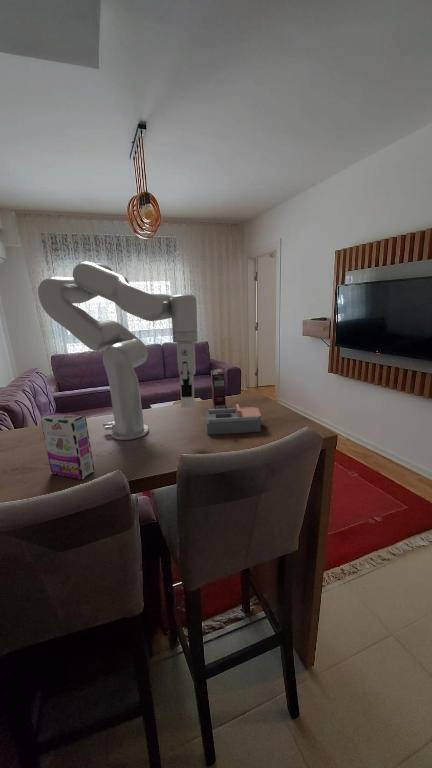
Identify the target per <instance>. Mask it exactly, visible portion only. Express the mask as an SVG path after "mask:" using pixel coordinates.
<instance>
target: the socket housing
mask: <svg viewBox="0 0 432 768" xmlns="http://www.w3.org/2000/svg"><path fill="white" fill-rule="evenodd" d="M244 408H245V407H240V409H244ZM246 408H256V407H255V406H250V407H249V406H248V407H246ZM261 425H262V424H261V418H260V419H259V416H252V417H237V414H236V407H232V408H230V407H228V408H226V409H214V408H212V409H211V408H210V409H207V412H206V431H207V435H224V434H225V435H228V434H243V433H245V434H246V433H259V432H261V431H262V430H261V429H262V427H261Z"/></svg>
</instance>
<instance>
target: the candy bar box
mask: <svg viewBox="0 0 432 768" xmlns="http://www.w3.org/2000/svg"><path fill="white" fill-rule="evenodd" d="M40 423H41V427H42V428H41V429H42V432H43V438H44V442H45V448H46V453H47V457H48V463H49V468H50V472H52V473H56V474H60V475H64V476H63V477H65V476H69V477H68V478H70V477H75V478H80V479H83V478H84V479H86V478H88V475H89V474H90V475H91V473H92V472H93V473H94V472H95V465H94V459H93V453H92V448H91V447H92V446H91V442H90V435H89V430H88V429H89V428H88V423H87V415H80V414H72V413H70V414H69V413H62V412H61V413H60V412H53V413H51V414H48V415H46V416H43V417H41V418H40ZM93 473H92V474H93ZM60 475H59V476H60ZM90 475H89V476H90ZM85 477H86V478H85ZM75 478H74V479H75ZM80 479H79V480H80ZM84 479H83V480H84Z"/></svg>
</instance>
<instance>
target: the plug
mask: <svg viewBox="0 0 432 768" xmlns="http://www.w3.org/2000/svg"><path fill="white" fill-rule="evenodd" d="M187 367H188V365H187ZM187 375H189V373H187ZM188 378H189V377H188ZM194 380H195V379H194V375H193V374H191V384H192V397H182V390H181V384H182V376H181V375H179V385H180V386H179V388H180V389H179V391H180V408H195V385H194V383H195V382H194Z"/></svg>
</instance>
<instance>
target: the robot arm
mask: <svg viewBox="0 0 432 768" xmlns="http://www.w3.org/2000/svg"><path fill="white" fill-rule="evenodd" d="M37 295H38V300H39V304H40V305H41V307H42V309H43V311H44V312H45V313H46V314H47V315H48V316H49V317H50V318H51V319H52V320H53V321H55V322H56V323H58V324H59V325H60V326H62V327H63V328H64V329H65V330H67V331H68V332H69V333H70V334H71V335H72V336H73V337H74V338H76V339H77V340H79V341H80V342H81V343H82V344H83V345H84V346H85V347H87V348H89V349H90V350H92V351H93V352H99V351H104V352H103V355H102V362H103V367H104V369H105V372H106V375H107V379H108V384H109V385H108V386H109V391H110V392H109V393H110V397H111V405H112V411H113V421H112V422H110V421H109V422H103V424H102V427H103V429H104V430H105V431H109V430H110V431H111V438H113V439H114V440H118V441H132V440H135V439H136V440H137V439H139V438H141V437H143V436H145V435H147V434H148V433H149V426H148V425H147V424H145V423H144V417H143V407H142V398H141V391H140V389H141V388H140V382H139V378H138V375H137V373H136V371H135V369H134V368H137V367H139V366H141V365H143V364H144V363H145V362H147V359H148V355H149V352H148V348H147V346H146V345H145V343H144V342H143V341H142V340H141V339H139V337H137V336H136V335H135V334H134V333H133V332H132V331H130V330H129V329H128V328H126V327H125V325H124V326H123V324H121V323H119V322H117V321H115V320H112V319H111V320H97V319H95V318H94V317H92V315H90V314H89V313H88V312H86V311H85V310H84V309H82V308H81V307H79V306H76V305H75V304H83V303H86V302H88V301H90V300H92V299H94V298H96V297H99V296H100V297H101V298H104V299H105V300H106V299H107V300H109V301H111V302H113V303H114V304H115V305H116V306H117V307H118V308H120V309H121V310H122V311H124V312H126V313H128V314H129V315H132V316H134V317H137V318H139V319H142V320H144V321H149V322H156V321H162V320H169V319H171V331H172V343H175V344H176V356H177V357H176V358H177V367H178V368H177V369H178V375H179V376H180V375H181V376H182V384H181V390H182V397H192V384H191V374H193V376H195V374H196V368H197V367H196V345H195V343H197V342H198V319H197V318H198V313H197V312H198V311H197V310H198V307H197V298H196V296H195V295H194V294H174V295H173V294H164V293H163V294H161V293H153V294H152V293H149V292H145V291H144V290H142V289H139V288H137V287H135V286H132V285H131V284H130V282H129V280H128V278H127V277H126V276H125V275H122V274H120V273H117V272H114V271H113V269H112V268H111V267H110V266H108V265H106V264H104V263H97V262H91V261H83V262H79V263H77V264H76V265H75V266H74V268H73V270H72V277H65V276H51V277H47V278H44V279H43V280H42V281H41V282H40V283H39V284H38V288H37ZM187 365H188V367H187ZM187 373H189V375H187ZM188 377H189V378H188Z"/></svg>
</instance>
